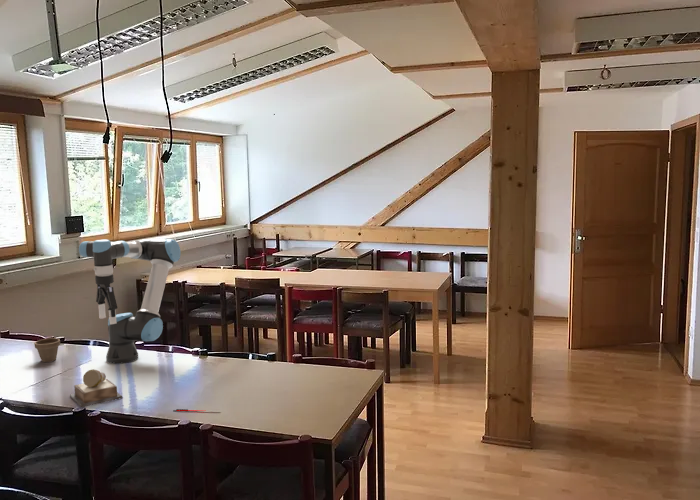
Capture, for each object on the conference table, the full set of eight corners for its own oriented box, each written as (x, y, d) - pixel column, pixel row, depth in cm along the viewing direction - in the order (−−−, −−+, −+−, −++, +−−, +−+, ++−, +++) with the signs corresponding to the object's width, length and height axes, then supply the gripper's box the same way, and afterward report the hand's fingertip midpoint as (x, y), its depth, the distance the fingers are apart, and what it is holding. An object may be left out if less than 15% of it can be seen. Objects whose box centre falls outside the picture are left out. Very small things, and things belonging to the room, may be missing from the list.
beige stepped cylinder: (111, 380, 252) (108, 364, 246) (97, 397, 244) (94, 380, 238) (96, 375, 253) (92, 359, 247) (81, 391, 245) (77, 375, 239)
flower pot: (36, 365, 291) (34, 345, 290) (35, 359, 301) (33, 340, 300) (62, 361, 297) (60, 341, 296) (60, 356, 307) (59, 337, 306)
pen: (173, 411, 231) (173, 408, 231) (221, 412, 229) (221, 410, 229) (172, 412, 230) (172, 409, 230) (220, 413, 228) (220, 410, 228)
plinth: (109, 388, 257) (109, 376, 256) (122, 398, 245) (121, 386, 244) (70, 396, 247) (69, 384, 246) (81, 407, 235) (80, 395, 234)
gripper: (86, 272, 271) (90, 317, 274) (105, 279, 253) (109, 328, 256) (103, 270, 276) (106, 314, 279) (122, 277, 257) (126, 324, 260)
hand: (107, 321), depth 267 cm, fingers open, 13 cm apart
